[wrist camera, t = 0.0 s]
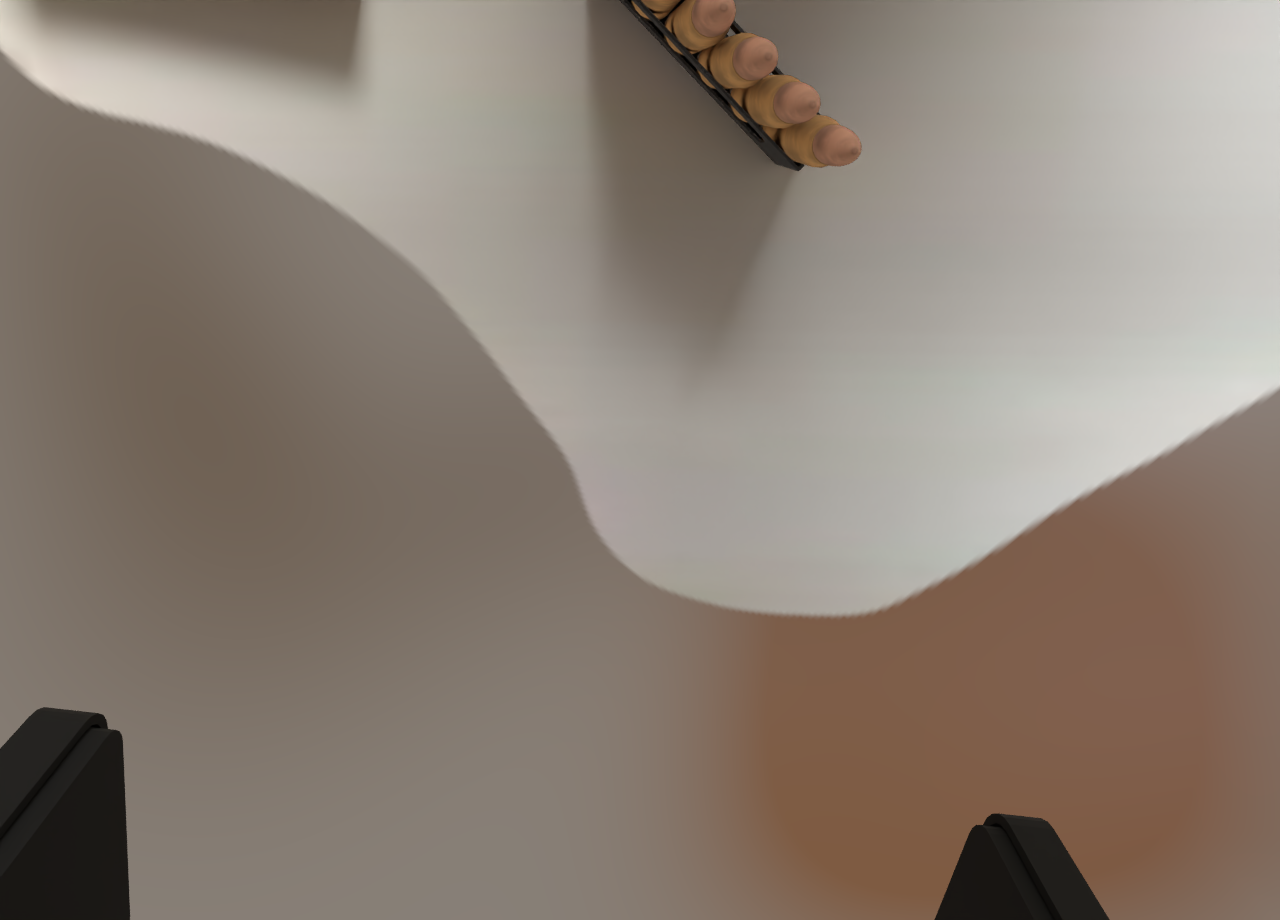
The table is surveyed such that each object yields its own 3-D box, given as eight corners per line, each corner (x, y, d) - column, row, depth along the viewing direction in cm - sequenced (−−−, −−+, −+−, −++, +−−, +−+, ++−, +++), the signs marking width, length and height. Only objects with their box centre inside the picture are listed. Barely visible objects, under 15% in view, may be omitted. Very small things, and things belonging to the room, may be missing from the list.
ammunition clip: (583, -38, 34) (576, -97, 23) (616, -79, 34) (625, -160, 23) (777, 165, 37) (853, 198, 26) (810, 130, 37) (901, 149, 26)
